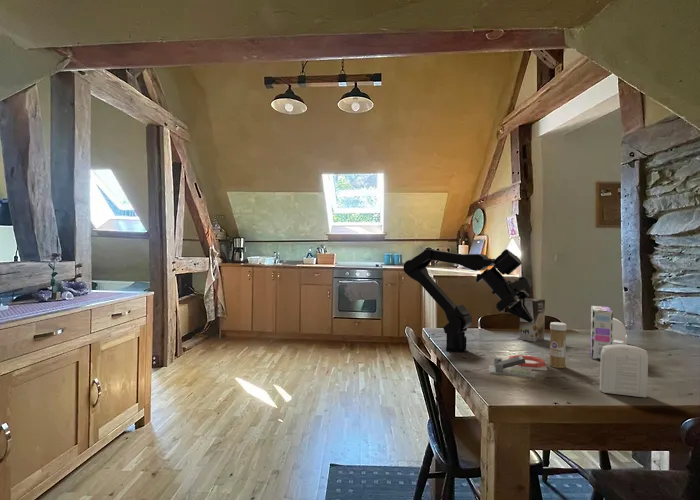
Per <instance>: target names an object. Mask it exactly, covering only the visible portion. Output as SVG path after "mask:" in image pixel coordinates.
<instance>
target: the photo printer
mask: <svg viewBox="0 0 700 500" xmlns="http://www.w3.org/2000/svg"><path fill="white" fill-rule="evenodd" d="M599 366H600V370H599V391H600V392H602V393H604V394H611V395H612V394H614V395H620V396H621V395H622V396H632V397H638V398H647V397H648V378H649V354H648V352H647V350H646V349H643V348H641V347H638V346H634V345H631V344H630V345H629V344H627V345H623V344H614V345H607V346H603V347H602V350H601V360H600V365H599Z"/></svg>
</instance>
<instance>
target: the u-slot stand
mask: <svg viewBox="0 0 700 500" xmlns="http://www.w3.org/2000/svg"><path fill="white" fill-rule="evenodd" d="M614 344H623V345H628V335H627V329H626V327H625V325H624V324H623V322H622V321H620V320H619V319H617V318H615V317H613V321H612V345H614Z"/></svg>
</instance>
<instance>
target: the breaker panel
mask: <svg viewBox="0 0 700 500" xmlns="http://www.w3.org/2000/svg"><path fill="white" fill-rule="evenodd" d="M493 359H494V360H493V362H494V363H493V365H490V364H489V365H488V369H489V370H488V371H489V374H491V375H500V376H512V377H521V378H523V377H525V378H533V379H535V378H536V375H535V373H534V371H533V369H526V368H514V367H508V368H505V369H503V364H500V363H498V362H500V361H503V359H502V358H499V357H494V358H493Z"/></svg>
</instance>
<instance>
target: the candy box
mask: <svg viewBox="0 0 700 500" xmlns="http://www.w3.org/2000/svg"><path fill="white" fill-rule="evenodd" d="M613 316H614V314H613V310H612V309H611V308H610V306H600V305H591V307H590V355H591V359H593V360H598V361H599V360H600V361H601V350H602V347H603V346H607V345H612V321H613V318H614V317H613Z"/></svg>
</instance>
